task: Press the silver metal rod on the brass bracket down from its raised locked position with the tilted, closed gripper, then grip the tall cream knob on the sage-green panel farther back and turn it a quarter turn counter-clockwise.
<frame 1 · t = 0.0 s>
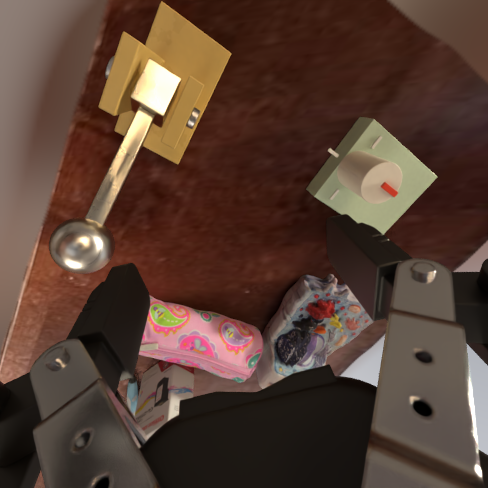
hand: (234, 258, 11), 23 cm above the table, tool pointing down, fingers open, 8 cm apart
bracket: (171, 93, 28), on the table
silver metal rod: (119, 171, 18), point 14 cm above the table, hinge at 28.0°
knob: (367, 176, 29), point 6 cm above the table, hinge at 0.0°
panel: (364, 179, 35), on the table
cell model: (301, 310, 46), on the table
pen: (132, 403, 52), on the table
pencil case: (189, 314, 43), on the table
ink box: (169, 366, 48), on the table
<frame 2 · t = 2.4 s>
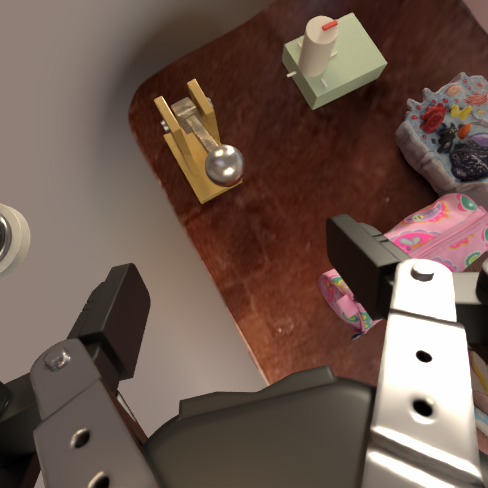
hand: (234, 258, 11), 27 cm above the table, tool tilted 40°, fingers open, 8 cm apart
bracket: (203, 160, 41), on the table
silver metal rod: (204, 139, 27), point 14 cm above the table, hinge at 28.0°
knob: (317, 47, 37), point 6 cm above the table, hinge at 0.0°
panel: (329, 69, 43), on the table
cell model: (444, 164, 41), on the table
pencil case: (383, 266, 39), on the table
ink box: (449, 340, 37), on the table
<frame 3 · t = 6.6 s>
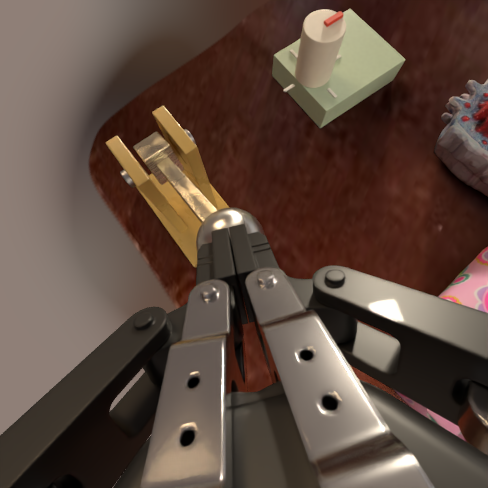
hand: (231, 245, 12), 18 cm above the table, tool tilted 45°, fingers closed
bracket: (191, 209, 31), on the table
silver metal rod: (189, 193, 17), point 13 cm above the table, hinge at 25.5°, touching gripper
knob: (318, 50, 29), point 6 cm above the table, hinge at 0.0°
panel: (331, 78, 35), on the table
pencil case: (456, 320, 28), on the table
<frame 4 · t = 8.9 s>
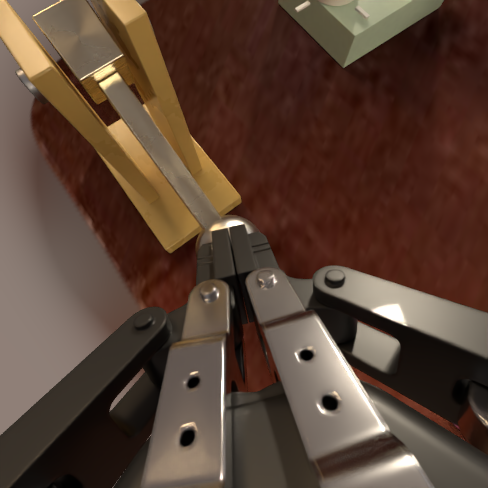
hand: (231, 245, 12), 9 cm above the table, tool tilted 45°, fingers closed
bracket: (166, 174, 23), on the table
silver metal rod: (168, 162, 13), point 9 cm above the table, hinge at -23.7°, touching gripper
panel: (357, 5, 26), on the table
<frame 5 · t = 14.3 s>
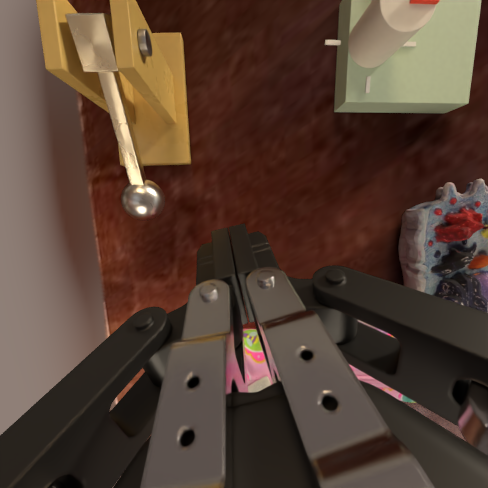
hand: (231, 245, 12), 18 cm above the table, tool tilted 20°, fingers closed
bracket: (153, 105, 28), on the table
silver metal rod: (126, 137, 20), point 8 cm above the table, hinge at -28.7°
knob: (388, 23, 22), point 6 cm above the table, hinge at 0.0°
panel: (393, 61, 28), on the table
cell model: (437, 267, 32), on the table
pencil case: (296, 340, 33), on the table
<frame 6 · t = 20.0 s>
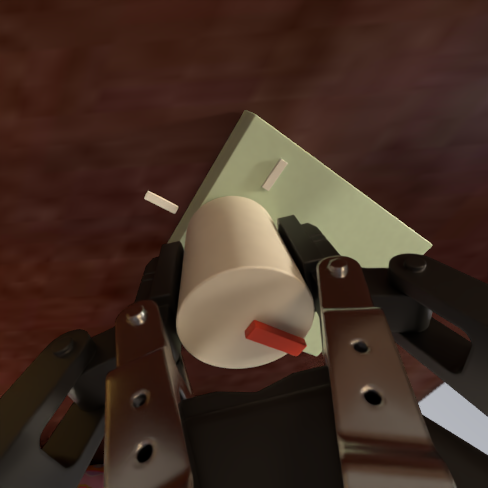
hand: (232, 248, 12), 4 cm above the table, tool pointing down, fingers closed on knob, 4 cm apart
knob: (238, 273, 10), point 6 cm above the table, hinge at 0.0°, touching gripper
panel: (280, 241, 17), on the table
pencil case: (3, 456, 25), on the table
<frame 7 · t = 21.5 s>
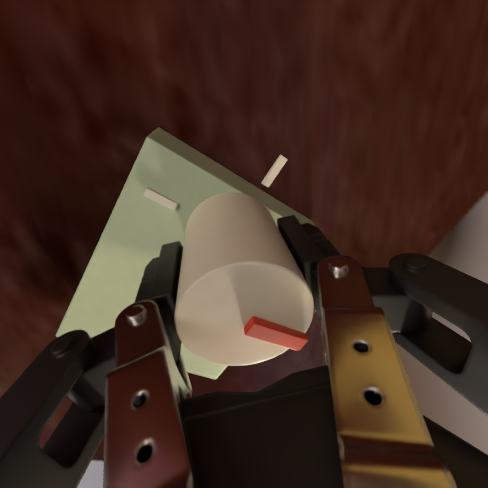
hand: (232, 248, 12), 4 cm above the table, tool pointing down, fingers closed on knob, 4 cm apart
knob: (237, 270, 10), point 6 cm above the table, hinge at 93.2°, touching gripper
panel: (192, 261, 17), on the table
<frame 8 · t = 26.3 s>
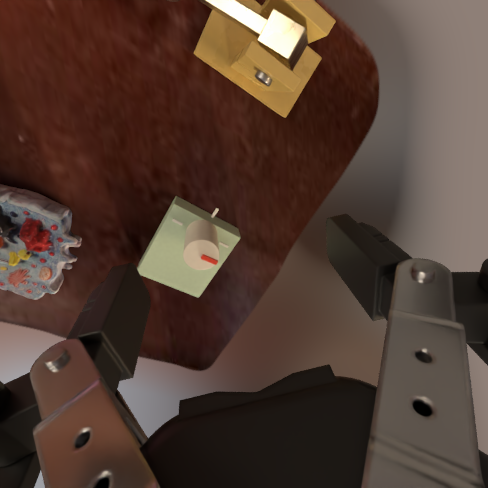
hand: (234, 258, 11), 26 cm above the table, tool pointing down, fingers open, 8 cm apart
bracket: (257, 56, 30), on the table
silver metal rod: (222, 4, 21), point 8 cm above the table, hinge at -28.7°
knob: (201, 244, 34), point 6 cm above the table, hinge at 91.9°
panel: (188, 245, 40), on the table
cell model: (7, 216, 35), on the table
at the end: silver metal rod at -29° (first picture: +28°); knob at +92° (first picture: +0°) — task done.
